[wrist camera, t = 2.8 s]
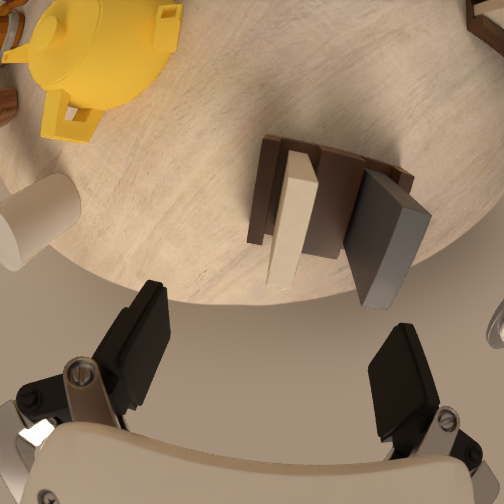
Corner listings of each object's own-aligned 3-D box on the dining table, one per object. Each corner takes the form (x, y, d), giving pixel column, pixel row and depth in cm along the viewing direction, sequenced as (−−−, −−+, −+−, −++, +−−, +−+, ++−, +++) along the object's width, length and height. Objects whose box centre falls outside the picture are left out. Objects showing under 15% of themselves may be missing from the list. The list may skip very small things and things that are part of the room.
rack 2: (509, -8, 6) (523, -11, 3) (516, 67, 13) (533, 68, 10) (459, -44, 6) (472, -52, 3) (466, 29, 13) (483, 25, 10)
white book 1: (307, 153, 24) (319, 182, 15) (291, 230, 28) (290, 291, 19) (288, 150, 24) (288, 176, 15) (274, 226, 28) (265, 286, 19)
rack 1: (401, 167, 24) (415, 176, 21) (373, 251, 29) (381, 268, 26) (266, 134, 24) (262, 138, 21) (251, 227, 29) (246, 242, 26)
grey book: (384, 173, 23) (432, 215, 14) (361, 244, 27) (388, 310, 18) (362, 167, 23) (402, 206, 14) (341, 240, 27) (361, 306, 19)
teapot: (147, -38, 14) (87, -75, 3) (226, 43, 20) (179, 3, 9) (53, 57, 20) (-18, 62, 10) (108, 142, 26) (32, 173, 16)
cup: (45, 217, 32) (-8, 257, 22) (43, 167, 28) (-19, 200, 18) (81, 233, 33) (26, 281, 23) (81, 179, 29) (13, 219, 18)
